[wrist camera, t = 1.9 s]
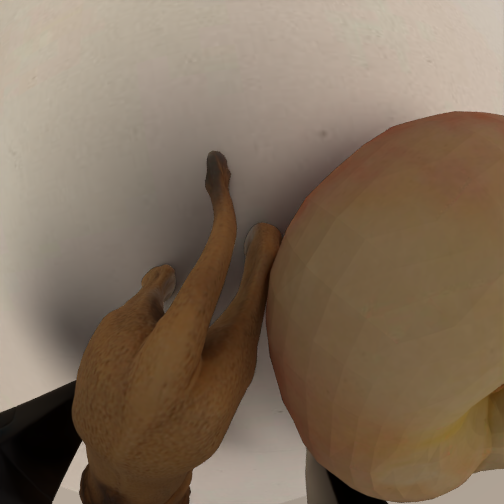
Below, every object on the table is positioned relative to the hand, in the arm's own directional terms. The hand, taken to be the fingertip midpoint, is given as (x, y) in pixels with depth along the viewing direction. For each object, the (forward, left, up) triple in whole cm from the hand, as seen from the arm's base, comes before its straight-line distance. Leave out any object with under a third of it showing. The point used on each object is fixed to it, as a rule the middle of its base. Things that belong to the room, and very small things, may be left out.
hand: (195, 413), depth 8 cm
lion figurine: (0, +1, -3) cm, 3 cm away
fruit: (+5, -6, -3) cm, 8 cm away
